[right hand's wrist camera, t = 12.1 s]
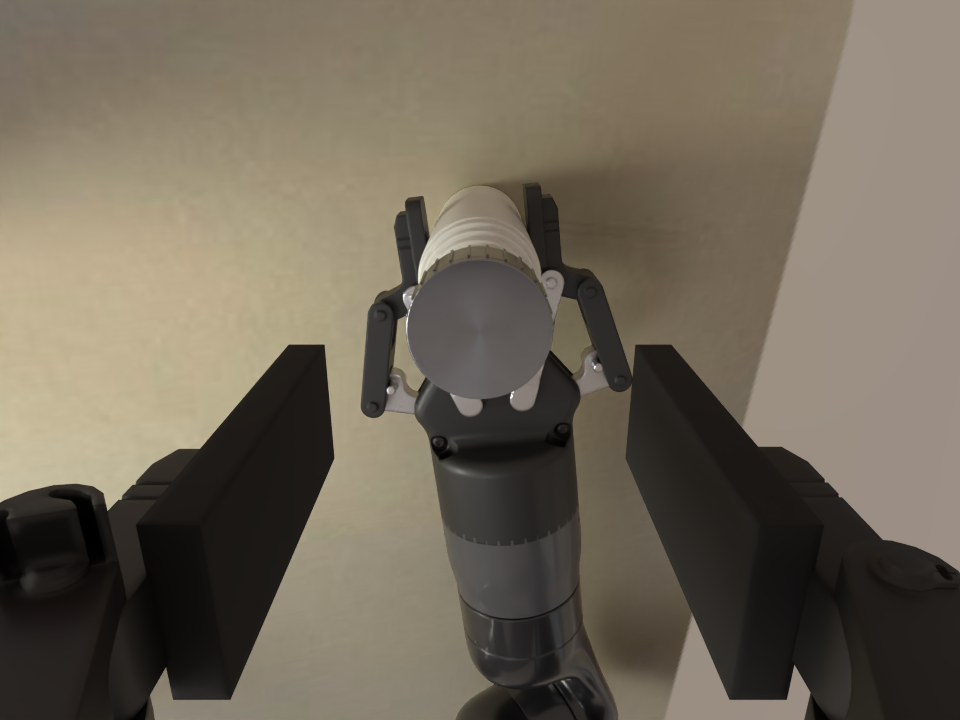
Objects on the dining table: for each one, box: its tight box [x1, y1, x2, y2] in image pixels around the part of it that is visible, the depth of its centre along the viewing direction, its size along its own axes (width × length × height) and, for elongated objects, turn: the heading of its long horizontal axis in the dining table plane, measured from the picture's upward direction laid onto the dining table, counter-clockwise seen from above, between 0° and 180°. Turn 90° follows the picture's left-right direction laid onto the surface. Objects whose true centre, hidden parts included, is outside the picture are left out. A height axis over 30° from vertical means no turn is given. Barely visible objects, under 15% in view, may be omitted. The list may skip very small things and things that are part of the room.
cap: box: [406, 245, 554, 399], centre depth 20 cm, size 4×4×2 cm
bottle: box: [418, 186, 541, 284], centre depth 28 cm, size 5×5×19 cm
